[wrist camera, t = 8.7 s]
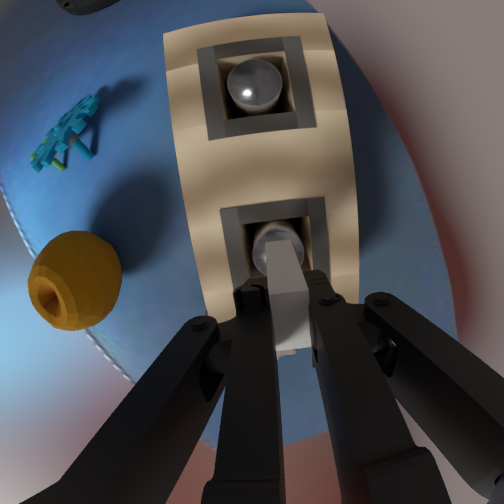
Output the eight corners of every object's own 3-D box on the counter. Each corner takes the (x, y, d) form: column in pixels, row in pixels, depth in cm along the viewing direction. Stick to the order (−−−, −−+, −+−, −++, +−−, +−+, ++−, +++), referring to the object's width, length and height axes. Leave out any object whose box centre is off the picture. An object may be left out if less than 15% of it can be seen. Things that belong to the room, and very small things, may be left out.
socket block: (188, 65, 22) (162, 33, 14) (307, 49, 21) (324, 12, 13) (224, 289, 29) (212, 331, 21) (334, 275, 28) (358, 313, 21)
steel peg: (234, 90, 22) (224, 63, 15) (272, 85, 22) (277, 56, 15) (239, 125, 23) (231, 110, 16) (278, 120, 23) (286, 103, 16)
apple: (82, 295, 30) (30, 343, 19) (66, 223, 27) (-1, 253, 16) (145, 298, 30) (98, 360, 19) (131, 216, 27) (64, 250, 16)
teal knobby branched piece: (105, 76, 21) (68, 132, 16) (133, 111, 26) (110, 173, 21) (45, 123, 23) (11, 183, 19) (72, 149, 28) (47, 210, 24)
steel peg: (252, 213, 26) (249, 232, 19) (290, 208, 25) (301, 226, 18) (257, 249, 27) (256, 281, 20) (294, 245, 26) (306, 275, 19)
